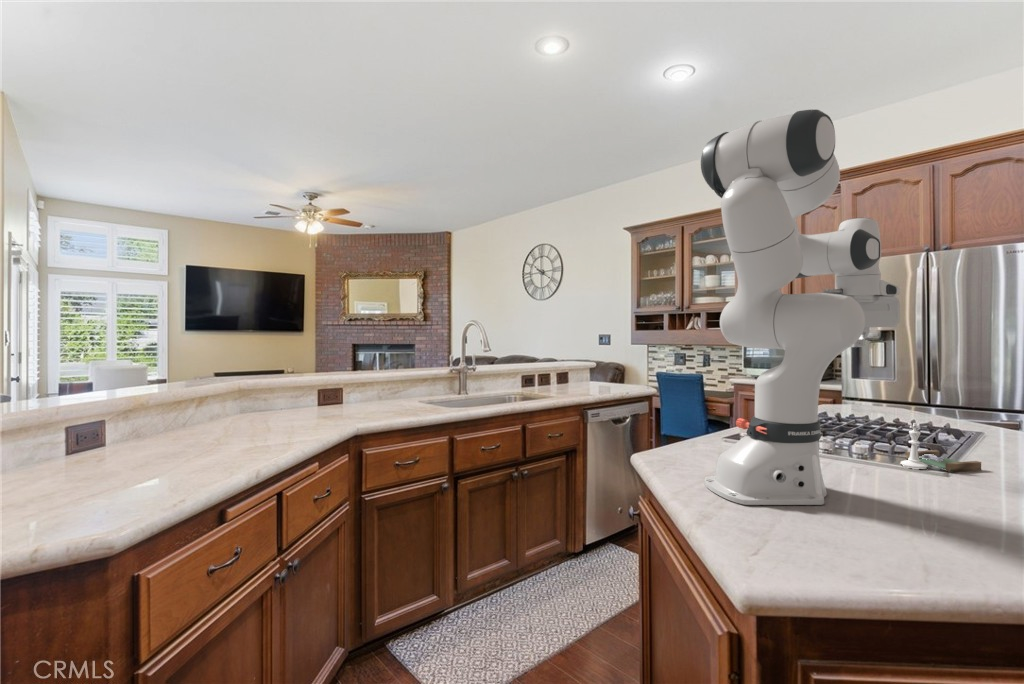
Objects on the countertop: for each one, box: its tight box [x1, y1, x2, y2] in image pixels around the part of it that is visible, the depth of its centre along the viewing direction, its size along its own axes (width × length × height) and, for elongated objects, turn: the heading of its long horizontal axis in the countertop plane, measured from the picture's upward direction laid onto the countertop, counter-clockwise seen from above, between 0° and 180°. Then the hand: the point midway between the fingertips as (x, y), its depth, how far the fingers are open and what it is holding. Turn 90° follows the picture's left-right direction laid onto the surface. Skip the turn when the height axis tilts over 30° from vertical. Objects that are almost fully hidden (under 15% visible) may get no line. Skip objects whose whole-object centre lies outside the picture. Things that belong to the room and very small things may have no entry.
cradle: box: [905, 449, 982, 473], centre depth 111 cm, size 8×10×2 cm
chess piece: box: [899, 422, 929, 468], centre depth 109 cm, size 5×5×10 cm
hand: (856, 347), depth 115 cm, fingers closed
